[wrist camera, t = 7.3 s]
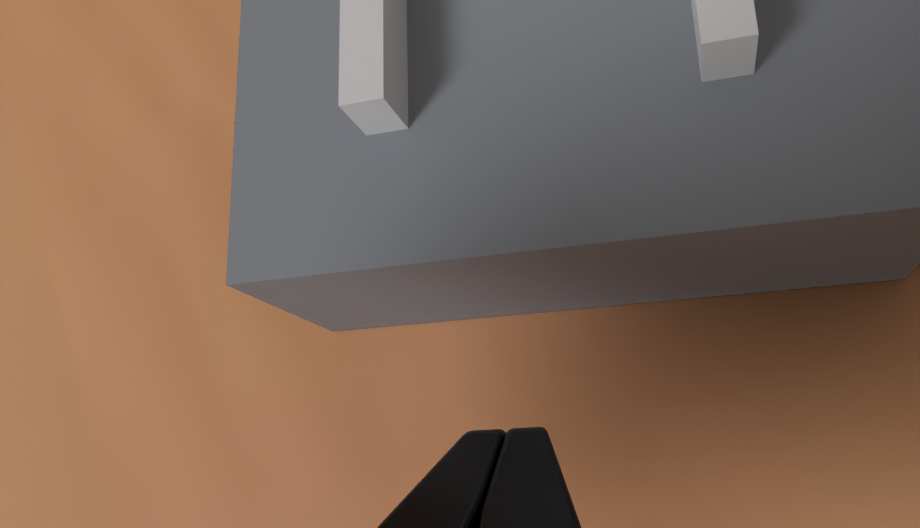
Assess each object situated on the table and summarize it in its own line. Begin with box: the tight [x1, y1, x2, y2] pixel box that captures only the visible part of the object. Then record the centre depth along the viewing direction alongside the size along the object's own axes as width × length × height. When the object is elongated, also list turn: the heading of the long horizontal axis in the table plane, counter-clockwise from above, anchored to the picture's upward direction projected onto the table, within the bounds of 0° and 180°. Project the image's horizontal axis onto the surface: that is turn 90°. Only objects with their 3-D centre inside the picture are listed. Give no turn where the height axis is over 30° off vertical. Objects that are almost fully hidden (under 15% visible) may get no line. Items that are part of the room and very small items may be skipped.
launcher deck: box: [226, 0, 920, 331], centre depth 16 cm, size 8×12×6 cm, turn 92°
